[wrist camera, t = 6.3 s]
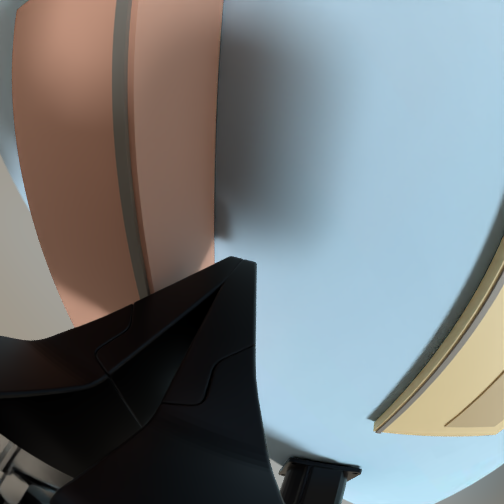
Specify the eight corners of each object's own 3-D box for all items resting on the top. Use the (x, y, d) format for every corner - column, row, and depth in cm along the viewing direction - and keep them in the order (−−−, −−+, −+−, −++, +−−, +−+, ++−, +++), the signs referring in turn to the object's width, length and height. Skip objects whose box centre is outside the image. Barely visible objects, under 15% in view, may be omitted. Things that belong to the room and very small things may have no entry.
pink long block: (218, 384, 15) (192, 436, 12) (144, 354, 16) (114, 397, 13) (225, -23, 5) (146, -68, 2) (97, 9, 6) (14, 10, 3)
